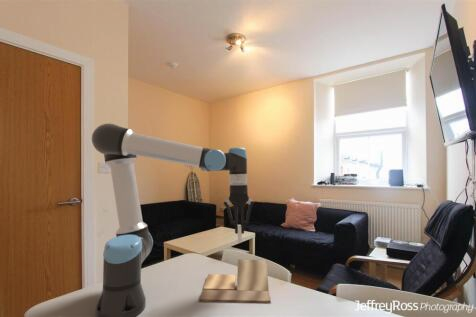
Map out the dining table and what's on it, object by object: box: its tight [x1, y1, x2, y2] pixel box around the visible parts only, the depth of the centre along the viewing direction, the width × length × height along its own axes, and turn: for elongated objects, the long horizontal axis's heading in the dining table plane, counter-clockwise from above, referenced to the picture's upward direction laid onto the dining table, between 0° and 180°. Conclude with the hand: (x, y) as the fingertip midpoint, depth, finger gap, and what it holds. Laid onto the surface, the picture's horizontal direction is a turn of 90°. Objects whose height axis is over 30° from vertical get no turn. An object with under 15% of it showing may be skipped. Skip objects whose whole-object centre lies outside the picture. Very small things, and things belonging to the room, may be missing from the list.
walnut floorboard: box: [199, 289, 272, 304], centre depth 89 cm, size 25×8×2 cm, turn 88°
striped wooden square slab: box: [202, 273, 237, 291], centre depth 100 cm, size 12×12×2 cm
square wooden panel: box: [236, 259, 270, 292], centre depth 98 cm, size 12×12×2 cm
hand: (239, 241), depth 102 cm, fingers closed
